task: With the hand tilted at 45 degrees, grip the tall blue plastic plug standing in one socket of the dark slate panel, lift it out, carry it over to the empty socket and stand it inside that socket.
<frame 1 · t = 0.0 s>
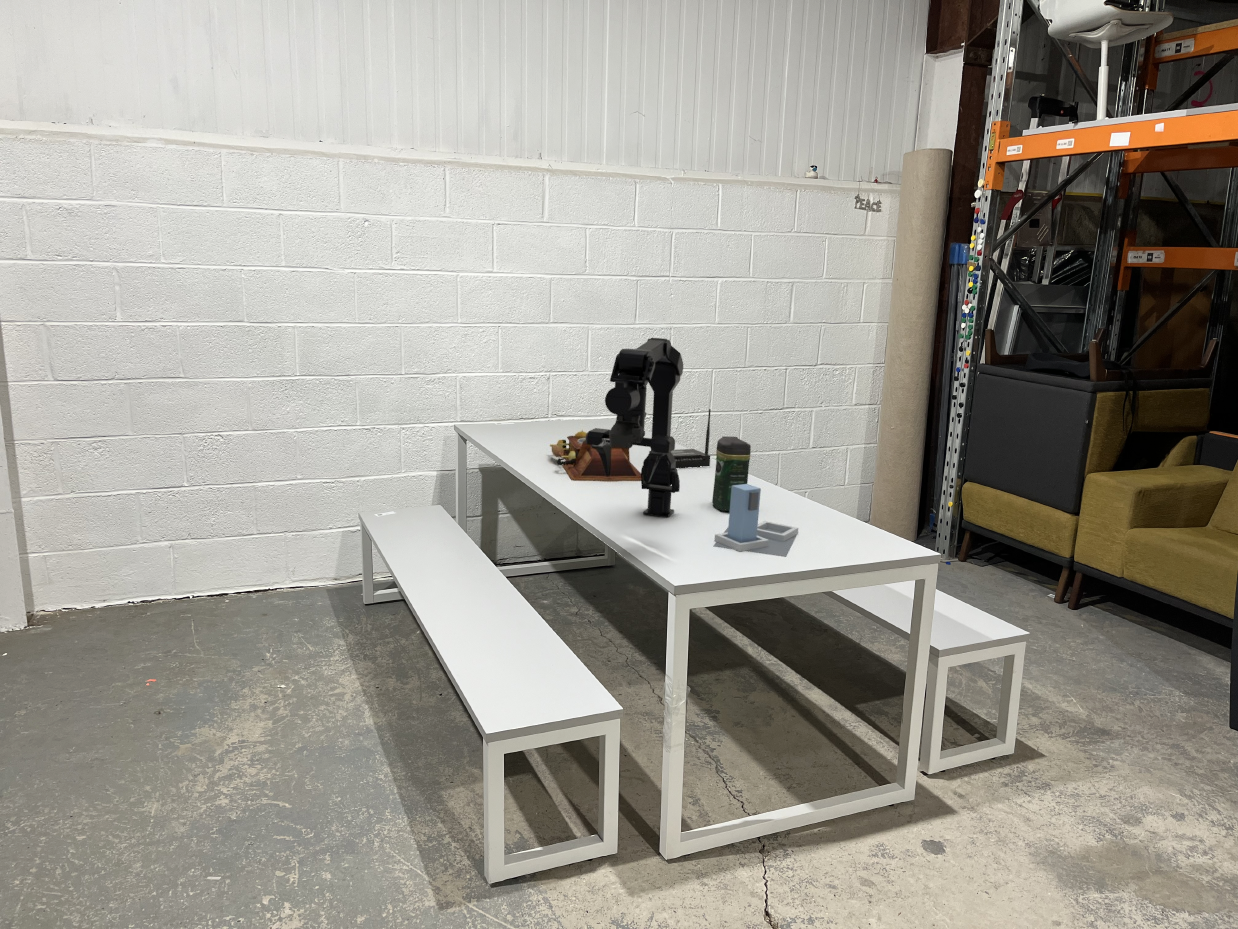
hand: (628, 479, 201), 15 cm above the table, tool pointing down, fingers open, 9 cm apart
coffee jar: (728, 508, 240), on the table
wireless controller: (684, 465, 290), on the table
plug: (741, 543, 206), point 1 cm above the table, touching panel
brown wooden toy: (592, 468, 281), on the table
panel: (756, 542, 211), on the table
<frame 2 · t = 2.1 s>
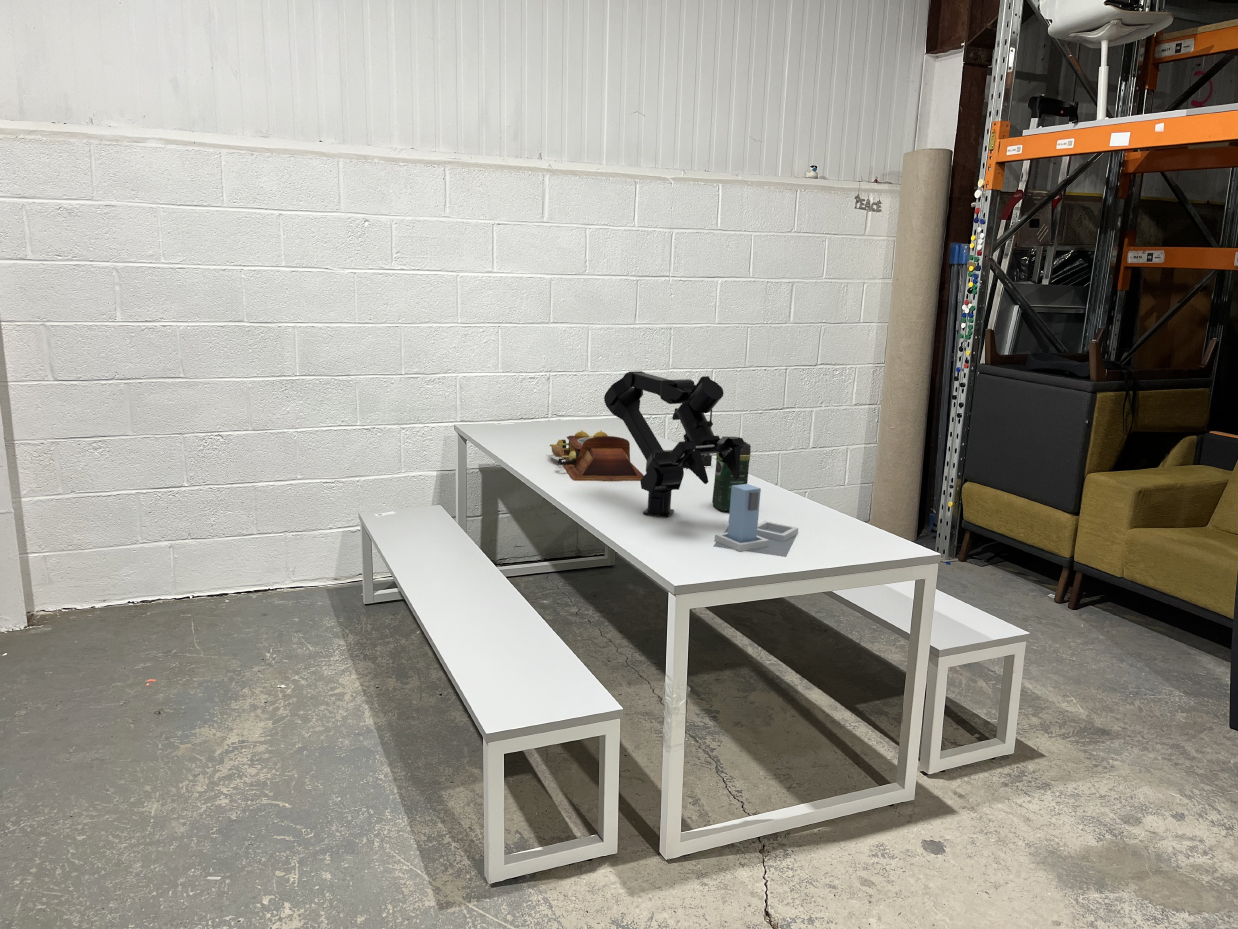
hand: (722, 481, 210), 13 cm above the table, tool tilted 45°, fingers open, 9 cm apart
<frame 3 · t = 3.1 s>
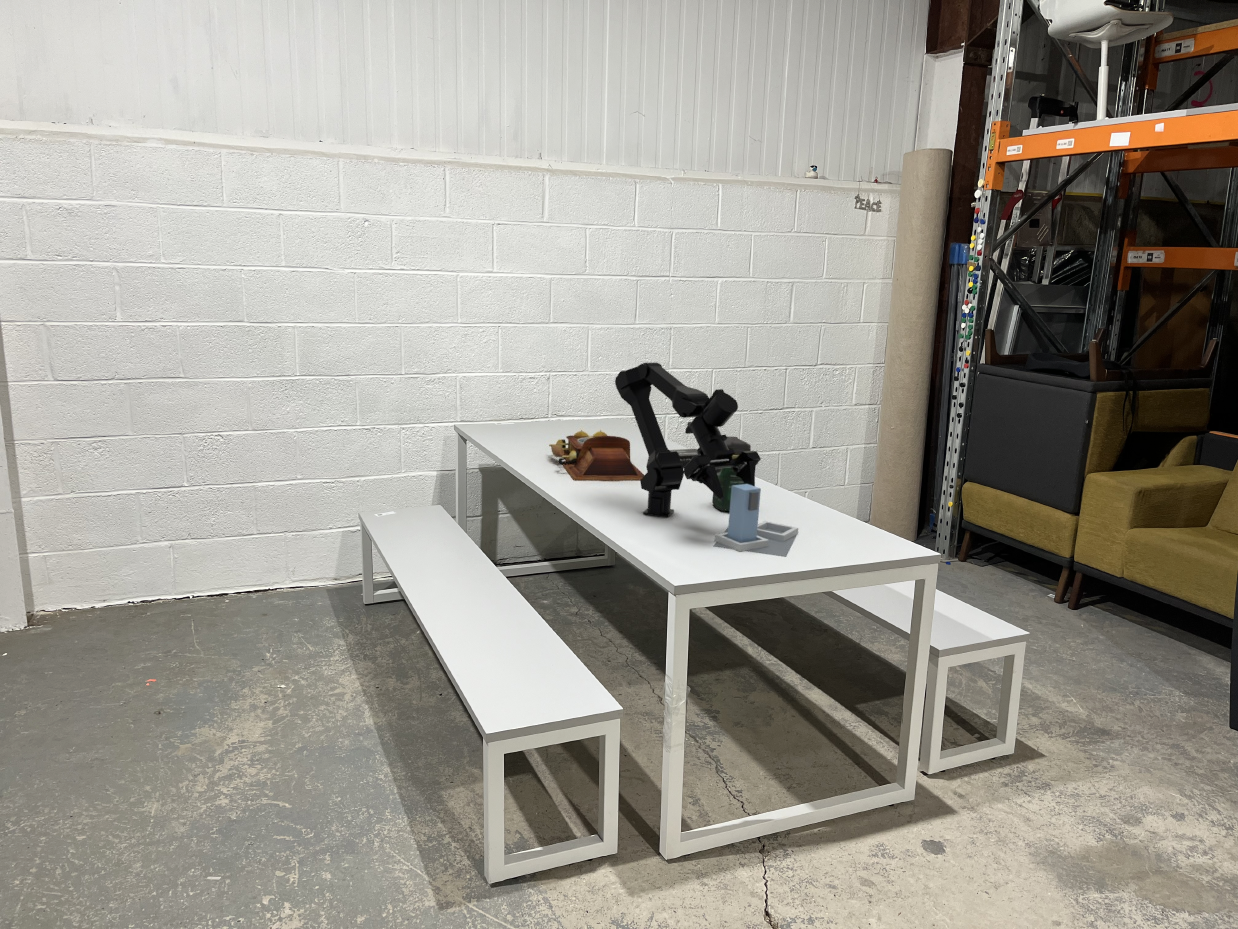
hand: (737, 496, 206), 11 cm above the table, tool tilted 45°, fingers open, 9 cm apart
nothing on the table moved.
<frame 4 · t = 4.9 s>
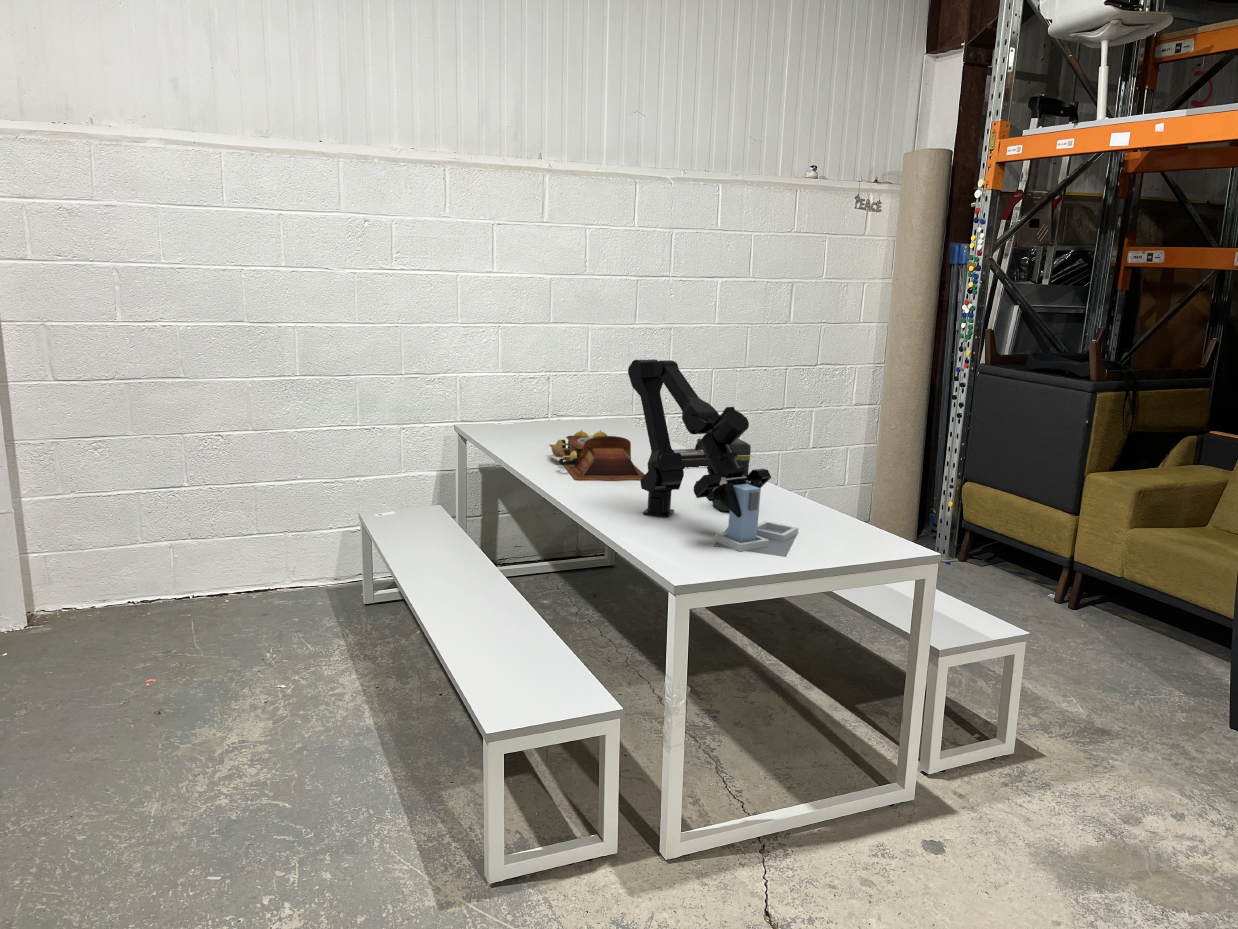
hand: (748, 515, 203), 8 cm above the table, tool tilted 45°, fingers closed on plug, 4 cm apart
plug: (741, 543, 206), point 1 cm above the table, touching gripper, panel
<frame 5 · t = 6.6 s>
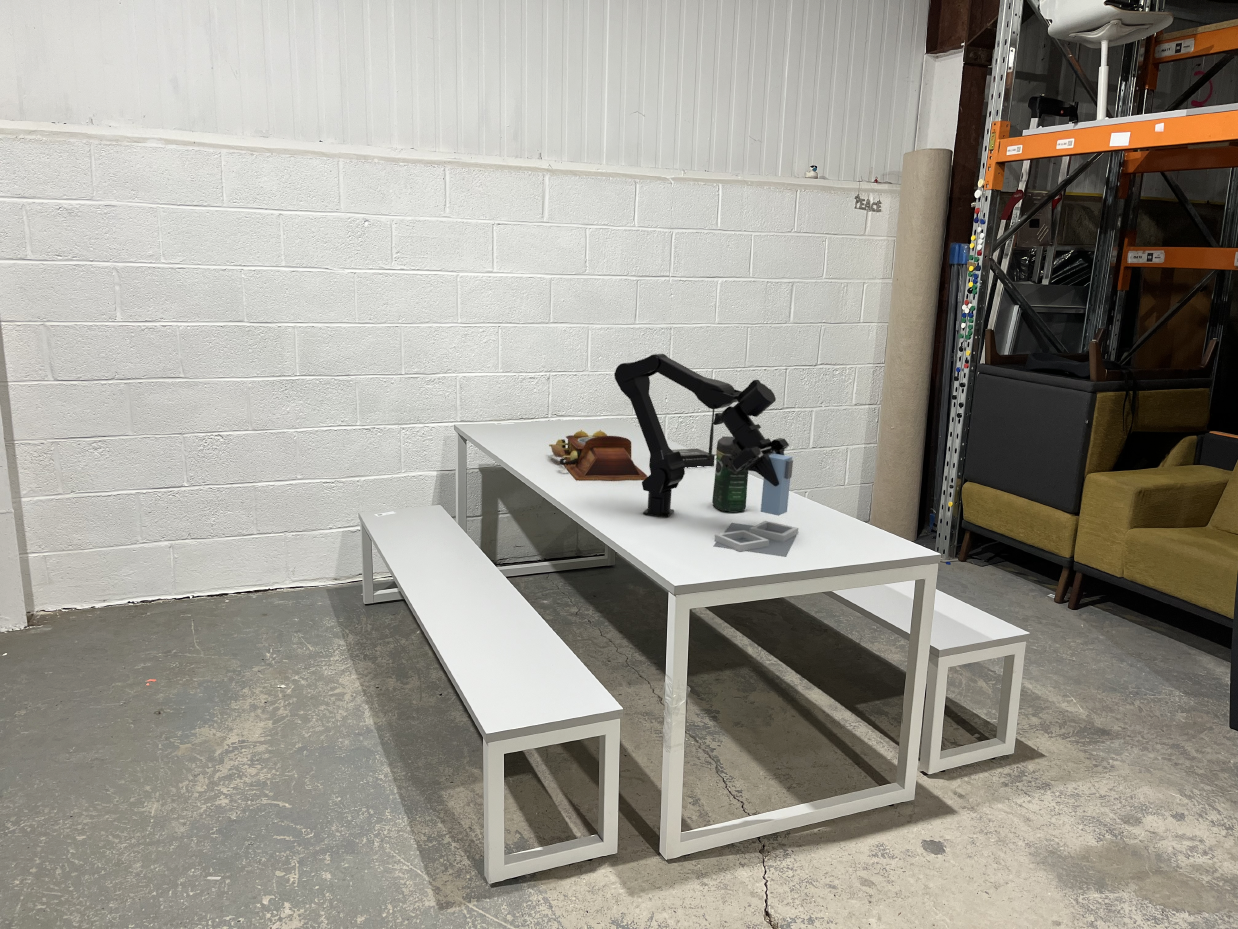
hand: (782, 483, 210), 13 cm above the table, tool tilted 45°, fingers closed on plug, 4 cm apart
plug: (773, 511, 213), point 7 cm above the table, touching gripper
when the fingers open (9 cm above the table, at t = 8.2 s): plug stays where it is, resting on panel.
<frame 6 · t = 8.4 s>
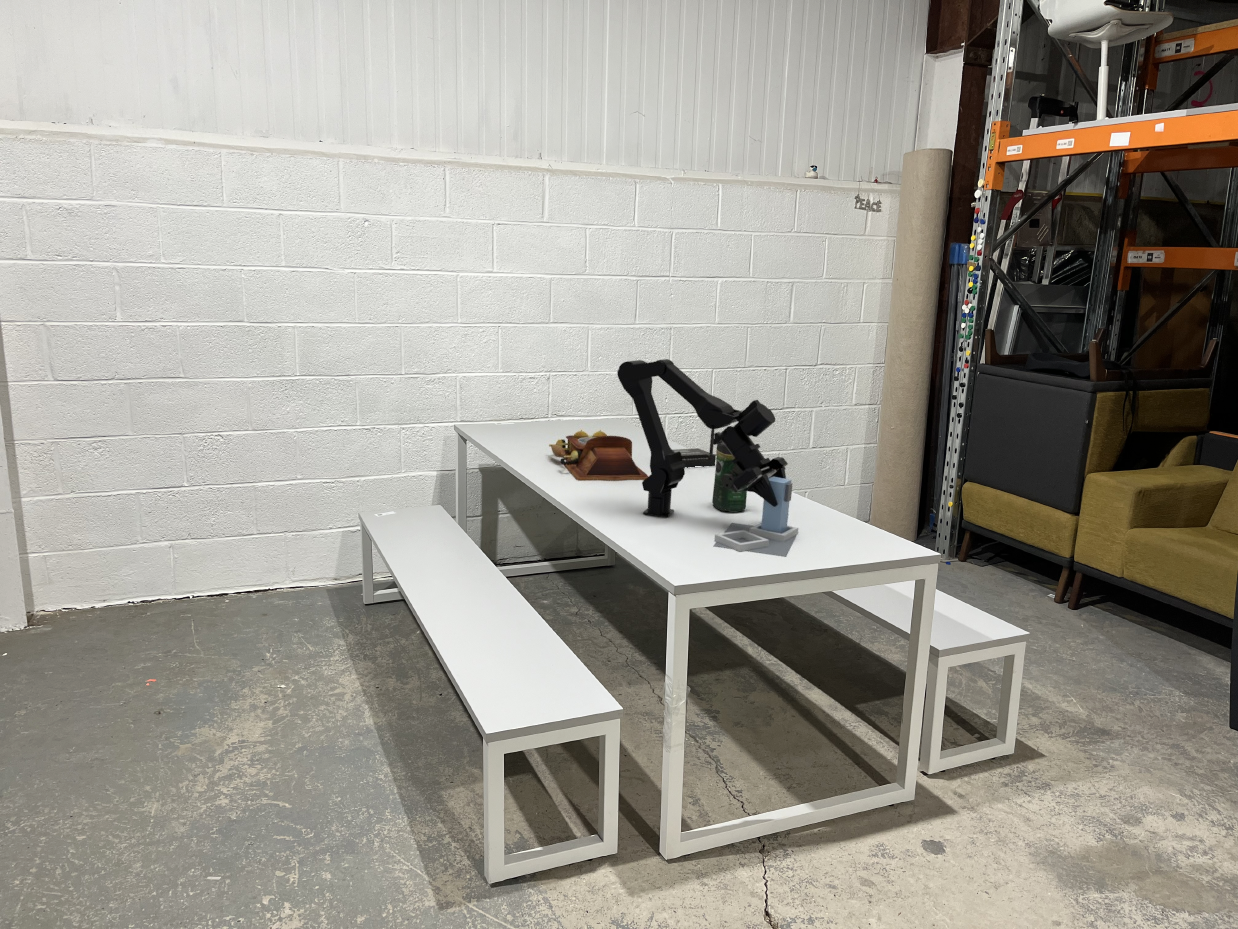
hand: (782, 503, 212), 9 cm above the table, tool tilted 45°, fingers open, 7 cm apart
plug: (773, 534, 215), point 1 cm above the table, touching panel
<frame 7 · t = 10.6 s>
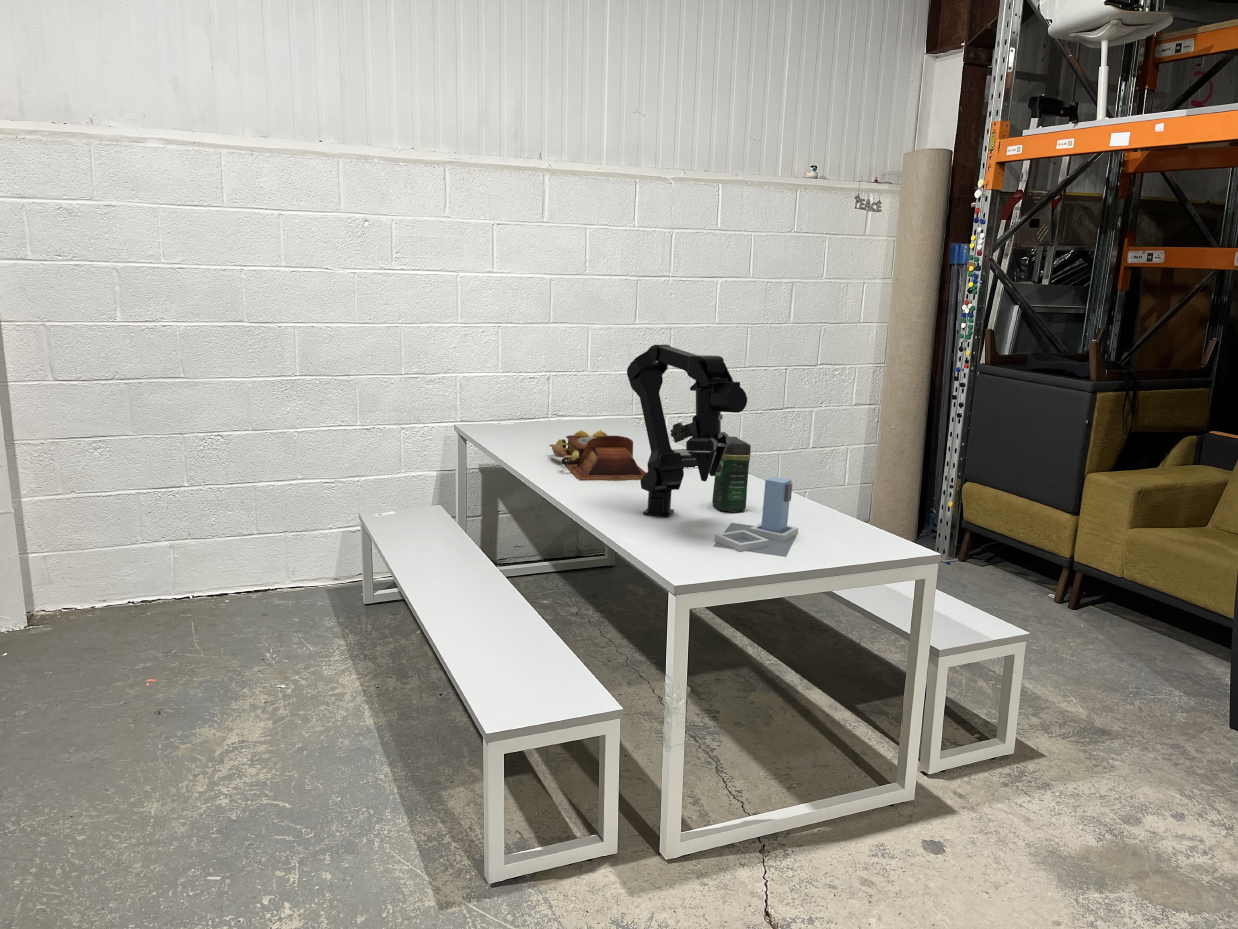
hand: (708, 478, 214), 13 cm above the table, tool pointing down, fingers open, 9 cm apart
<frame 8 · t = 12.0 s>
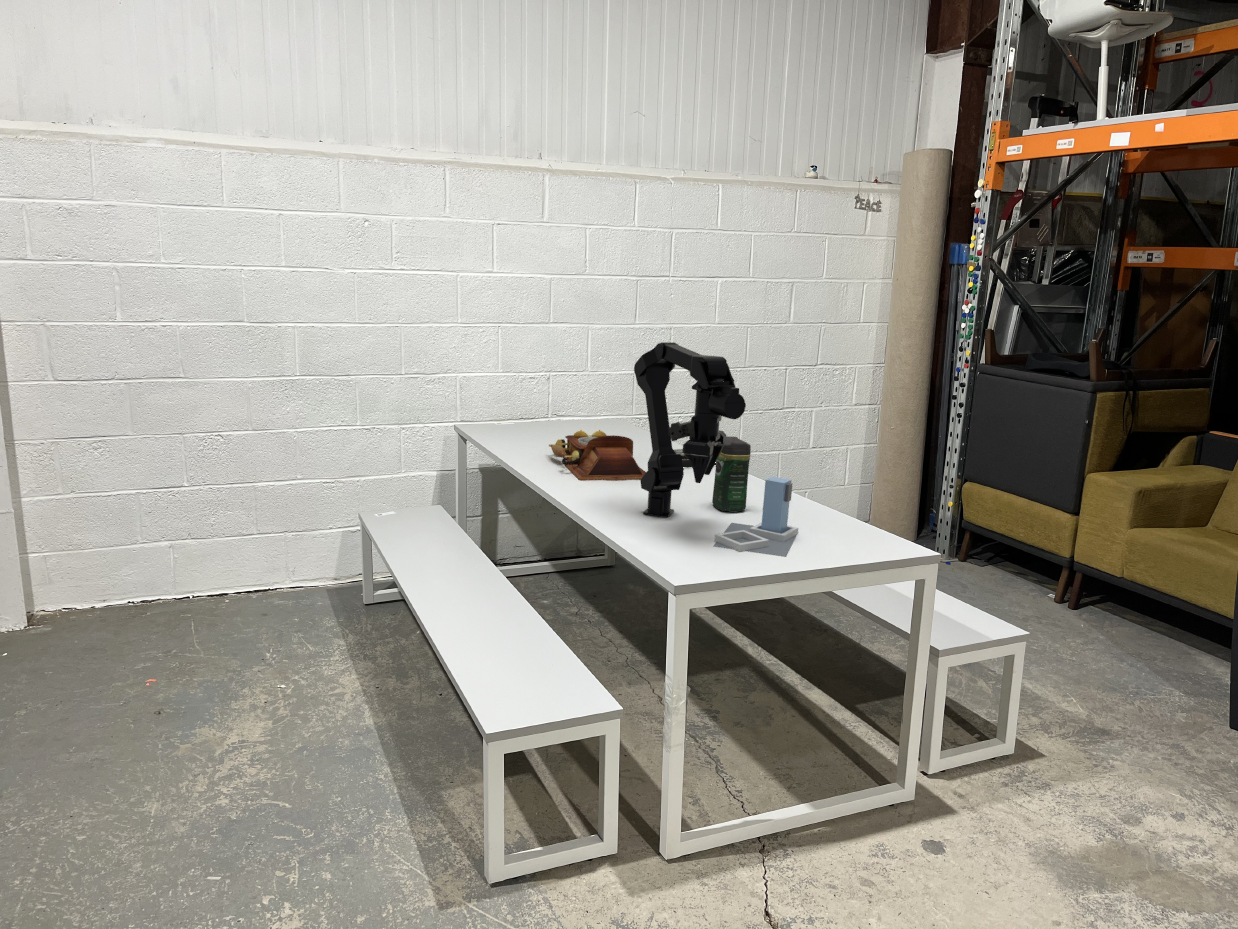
hand: (702, 478, 213), 13 cm above the table, tool pointing down, fingers open, 9 cm apart
at the end: plug 0.1 cm from the target spot, point 1.0 cm above the table; plug tilted 0°; the gripper is holding nothing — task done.
